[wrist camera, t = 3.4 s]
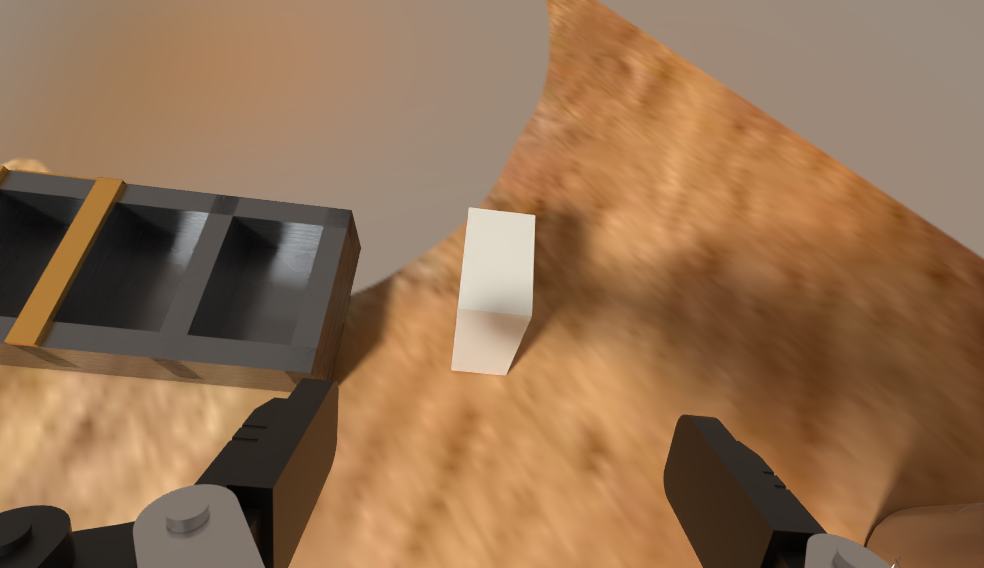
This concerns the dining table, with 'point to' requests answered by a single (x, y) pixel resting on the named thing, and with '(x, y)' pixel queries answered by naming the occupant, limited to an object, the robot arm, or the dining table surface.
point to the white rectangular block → (494, 291)
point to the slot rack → (170, 282)
